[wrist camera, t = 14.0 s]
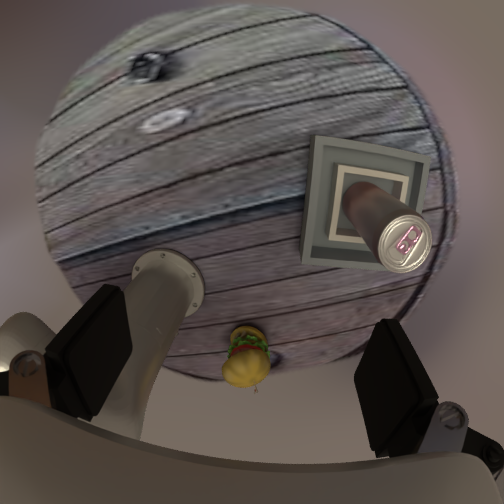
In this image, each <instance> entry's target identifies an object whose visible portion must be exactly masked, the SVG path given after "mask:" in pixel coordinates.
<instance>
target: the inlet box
mask: <svg viewBox="0 0 504 504" xmlns="http://www.w3.org/2000/svg"><path fill="white" fill-rule="evenodd" d="M430 159H431V157H429V156H425V155H421V154H417V153H413V152H409V151H405V150H400V149H396V148H391V147H386V146H381V145H376V144H370V143H365V142H359V141H353V140H347V139H340V138H333V137H326V136H318V135H311V137H310V150H309V161H308V172H307V182H306V192H305V202H304V211H303V220H302V228H301V237H300V245H299V252H300V259H301V264H306V265H318V266H330V267H343V268H355V269H368V270H381V271H390V270H388V269H387V268H385V267H384V266H383V265H381V264H380V263H379V262H378V261H377V259H376V258H375V256H374V255H373V253H372V252H371V250H370V249H369V247H368V246H367V245H366V243H365V242H364V240H363V239H362V237H361V236H360V235H359V233H358V232H357V230H356V229H355V228H354V226H353V225H352V223H351V222H350V221H349V219H348V218H347V217H346V215H345V213H344V210H343V198H344V195H345V193H346V192H347V190H348V189H349V188H350V187H351V186H352V185H354V184H356V183H359V182H370V183H373V184H375V185H376V186H378V187H379V188H381V189H383V190H384V191H386V192H387V193H389V194H391V195H392V196H394V197H395V198H397V199H398V200H400V201H401V202H403V203H404V204H406V205H407V206H409V207H410V208H412V209H413V210H415V211H416V212H418V213H419V214H420V215H421V213H422V208H423V203H424V198H425V192H426V186H427V180H428V174H429V167H430Z"/></svg>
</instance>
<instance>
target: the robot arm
mask: <svg viewBox="0 0 504 504" xmlns="http://www.w3.org/2000/svg"><path fill="white" fill-rule="evenodd" d="M164 254H165V255H164ZM204 294H205V284H204V280H203V277H202V275H201V273H200V271H199V270H198V268H197V267H196V266H195V265H194V263H193V262H192V261H191V260H189V259H188V258H187V257H185V256H184V255H182V254H180V253H178V252H176V251H173V250H170V249H154V250H150V251H148V252H146V253H144V254H143V255H142V256H141V257H140V258H139V259H138V260H137V261H136V263H135V265H134V267H133V270H132V281H131V283H130V284H129V285H128V286H127V287H126V288H125V289H124V291H121V289H120V287H118V286H114V285H109V284H104V285H103V286H102V287H101V288H100V289H99V290H98V291H97V292H96V293H95V294H94V295H93V296H92V297H91V298H90V299H89V300H88V301H87V302H86V303H85V304H84V305H83V306H82V308H81V309H80V310H79V311H78V312H77V313H76V314H75V315H74V316H73V317H72V318H71V319H70V320H69V322H68V323H67V324H66V325H65V326H64V327H63V328H62V329H61V330H60V332H59V333H58V334H57V335H56V334H55V333H54V332H53V331H52V330H51V329H50V328H49V327H48V326H47V325H46V324H45V323H44V322H43V321H42V320H40V319H39V318H37V317H36V316H35V315H33V314H31V313H27V312H20V313H17V314H14V315H13V316H11V317H10V318H9V319H7V320H6V321H5V323H4V324H3V325H2V326H1V327H0V504H504V450H503V448H502V446H501V445H500V444H499V443H497V442H496V441H494V440H492V439H490V438H488V437H486V436H484V435H482V434H480V433H479V432H477V431H475V430H473V429H471V428H469V427H468V423H469V419H468V415H467V413H466V412H465V410H464V409H463V408H462V407H461V406H460V405H458V404H457V403H454V402H450V401H445V402H442V403H440V404H439V403H438V401H437V399H438V398H439V396H438V394H437V392H436V390H435V388H434V386H433V384H432V382H431V380H430V378H429V376H428V374H427V372H426V370H425V368H424V366H423V365H422V363H421V361H420V359H419V357H418V355H417V354H416V351H415V350H414V348H413V346H412V344H411V342H410V341H409V339H408V337H407V335H406V334H405V332H404V330H403V328H402V327H401V325H400V323H399V321H398V320H397V319H384V318H383V319H382V320H381V321H380V322H377V323H376V325H375V327H374V330H373V332H372V335H371V337H370V340H369V342H368V344H367V347H366V349H365V351H364V354H363V356H362V358H361V361H360V363H359V365H358V367H357V369H356V371H355V374H354V383H355V387H356V390H357V394H358V398H359V402H360V405H361V410H362V414H363V418H364V422H365V426H366V430H367V435H368V439H369V444H370V448H371V450H372V451H375V455H376V458H380V457H386V456H389V457H390V458H385V459H377V460H368V461H357V462H346V463H330V464H278V463H261V462H249V461H239V460H231V459H223V458H216V457H209V456H204V455H198V454H193V453H188V452H183V451H178V450H173V449H169V448H165V447H161V446H157V445H153V444H149V443H146V442H142V441H140V436H141V433H142V427H143V421H144V416H145V411H146V406H147V402H148V399H149V395H150V393H151V390H152V387H153V384H154V382H155V379H156V377H157V375H158V372H159V370H160V368H161V366H162V364H163V362H164V360H165V357H166V355H167V353H168V351H169V349H170V347H171V344H172V342H173V340H174V338H175V336H177V335H178V329H179V327H180V325H181V323H182V321H183V319H184V317H187V316H190V315H191V314H193V313H195V312H196V311H197V310H198V309H199V307H200V305H201V304H202V301H203V299H204Z"/></svg>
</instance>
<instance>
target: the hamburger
mask: <svg viewBox="0 0 504 504" xmlns="http://www.w3.org/2000/svg"><path fill="white" fill-rule="evenodd" d="M230 340H231V344H232V345H230V346H229V349H228V353H229V355H228V356H227V357H228V360H227V361H226V362H225V363H224V365H223V366H222V375H223V377H224V379H225V380H226V381H227V382H228V383H229V384H230V385H232V386H235V387H240V388H244V387H245V388H246V387H250V386H253V385H256V384H258V383H259V382H261V381H262V380H263V379H264V378H265V377H266V376H267V375H268V373H269V370H270V354H269V353H270V351H267V350H268V343H267V340H266V338H265V336H264V335H263V334H262V333H261V332H260V331H259V330H258V329H256V328H254V327H251V326H241V327H238V328H236V329H235V330H234V331H233V333H232V334H231V339H230ZM257 392H258V391H257V388H256V386H255V390H254V394H255V393H257Z"/></svg>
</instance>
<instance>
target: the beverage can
mask: <svg viewBox="0 0 504 504" xmlns="http://www.w3.org/2000/svg"><path fill="white" fill-rule="evenodd" d="M343 210H344V213H345V215H346V217H347V218H348V219H349V221H350V222H351V223H352V225H353V226H354V228H355V229H356V230H357V232H358V233H359V235H360V236H361V237H362V239H363V240H364V242H365V243H366V245H367V246H368V247H369V249H370V250H371V252H372V253H373V255H374V256H375V258H376V259H377V261H378V262H379V263H380V264H381V265H383V266H384V267H385V268H387V269H388V270H390V271H392V272H395V273H406V272H410V271H412V270H414V269H416V268H417V267H419V266H420V265H421V264H422V263H423V262H424V260H425V259H426V258H427V256H428V254H429V252H430V249H431V245H432V234H431V230H430V227H429V225H428V224H427V223H426V221H425V220H424V218H423V217H422V216H421V215H420V214H419V213H418V212H416V211H415V210H413V209H412V208H410V207H409V206H407V205H406V204H404V203H403V202H401V201H400V200H398V199H397V198H395V197H394V196H392V195H391V194H389V193H387V192H386V191H384V190H383V189H381V188H379V187H378V186H376V185H375V184H373V183H370V182H359V183H356V184H354V185H352V186H351V187H350V188H349V189H348V190H347V192H346V193H345V195H344V198H343Z"/></svg>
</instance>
